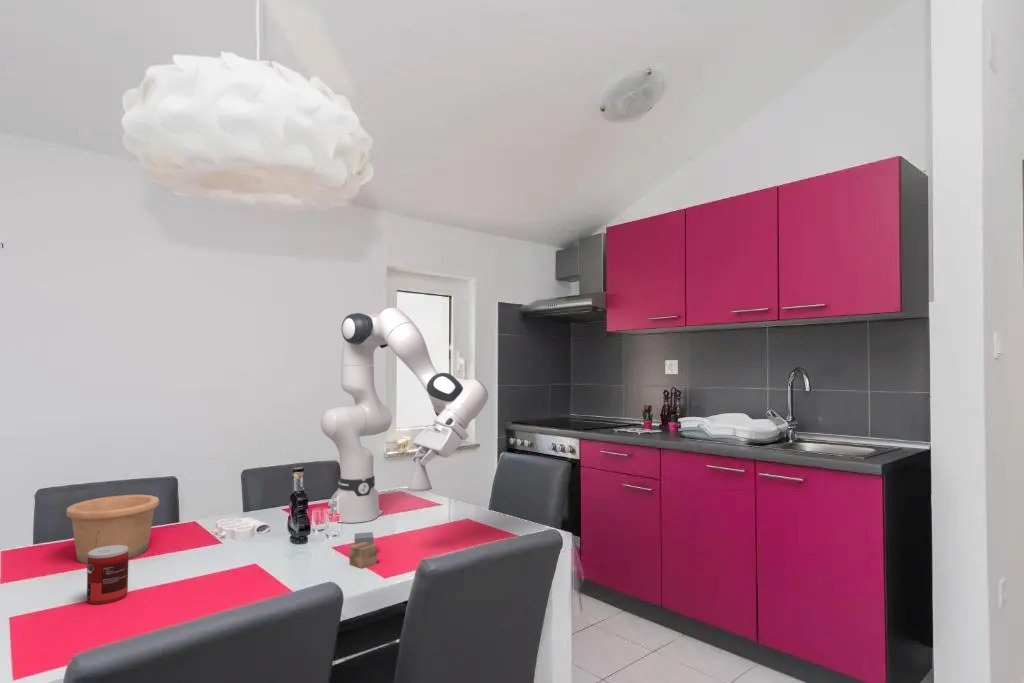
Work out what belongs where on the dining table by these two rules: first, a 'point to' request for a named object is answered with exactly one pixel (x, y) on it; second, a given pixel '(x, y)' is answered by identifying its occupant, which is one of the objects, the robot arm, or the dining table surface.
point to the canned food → (107, 574)
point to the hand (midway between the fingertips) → (417, 462)
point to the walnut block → (363, 555)
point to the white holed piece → (240, 528)
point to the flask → (419, 477)
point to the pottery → (112, 523)
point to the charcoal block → (364, 538)
